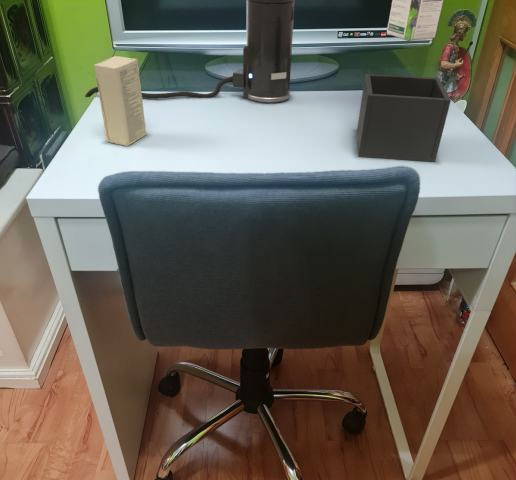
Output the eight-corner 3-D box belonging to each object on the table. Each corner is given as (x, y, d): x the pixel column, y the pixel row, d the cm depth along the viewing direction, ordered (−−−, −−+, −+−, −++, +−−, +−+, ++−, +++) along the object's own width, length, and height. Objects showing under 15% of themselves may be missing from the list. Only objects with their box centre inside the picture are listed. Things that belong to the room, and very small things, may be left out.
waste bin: (358, 156, 85) (367, 95, 78) (356, 130, 94) (365, 73, 88) (435, 162, 84) (451, 100, 77) (425, 135, 93) (439, 77, 87)
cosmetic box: (126, 131, 91) (115, 55, 83) (148, 135, 90) (138, 58, 82) (105, 142, 87) (91, 63, 79) (128, 147, 86) (116, 67, 78)
